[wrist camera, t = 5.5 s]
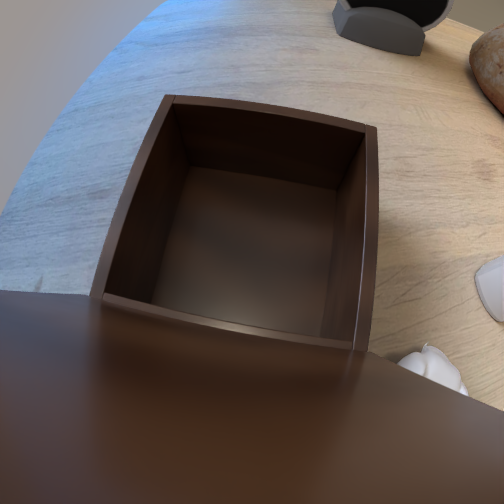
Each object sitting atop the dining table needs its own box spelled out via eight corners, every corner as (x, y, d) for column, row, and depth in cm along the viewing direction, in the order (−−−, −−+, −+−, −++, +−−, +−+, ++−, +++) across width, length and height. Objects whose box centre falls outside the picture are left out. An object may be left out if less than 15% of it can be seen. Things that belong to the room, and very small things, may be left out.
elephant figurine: (450, 366, 21) (496, 365, 15) (400, 452, 19) (439, 473, 13) (393, 325, 22) (434, 316, 16) (336, 416, 20) (365, 436, 14)
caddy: (184, 162, 26) (164, 94, 18) (343, 189, 25) (377, 126, 17) (139, 321, 22) (86, 303, 14) (324, 358, 21) (366, 360, 13)
